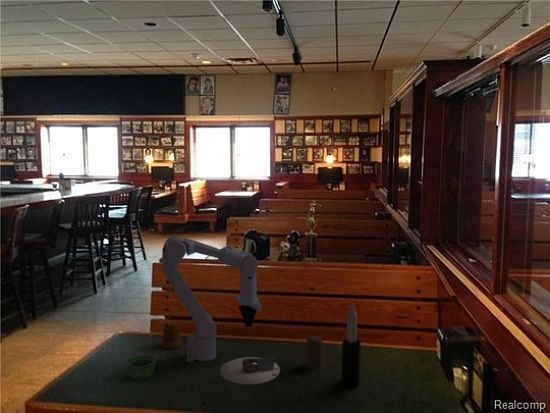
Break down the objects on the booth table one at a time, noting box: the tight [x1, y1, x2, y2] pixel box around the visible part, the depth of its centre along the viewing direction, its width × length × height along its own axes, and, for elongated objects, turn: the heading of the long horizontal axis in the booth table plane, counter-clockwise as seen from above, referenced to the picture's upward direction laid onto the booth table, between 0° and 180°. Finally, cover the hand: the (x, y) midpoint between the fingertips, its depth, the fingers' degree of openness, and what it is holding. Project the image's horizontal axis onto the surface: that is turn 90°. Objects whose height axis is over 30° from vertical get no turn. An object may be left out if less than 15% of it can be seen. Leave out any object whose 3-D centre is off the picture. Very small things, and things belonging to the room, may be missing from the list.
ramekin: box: [125, 354, 156, 380], centre depth 146 cm, size 9×9×4 cm
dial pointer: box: [242, 357, 275, 372], centre depth 146 cm, size 10×5×3 cm, turn 95°
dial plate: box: [219, 356, 281, 385], centre depth 146 cm, size 19×19×2 cm
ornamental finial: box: [160, 323, 183, 351], centre depth 168 cm, size 8×8×8 cm
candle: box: [341, 302, 362, 388], centre depth 140 cm, size 5×5×25 cm
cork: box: [305, 335, 324, 376], centre depth 149 cm, size 6×6×11 cm
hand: (248, 326), depth 160 cm, fingers closed
